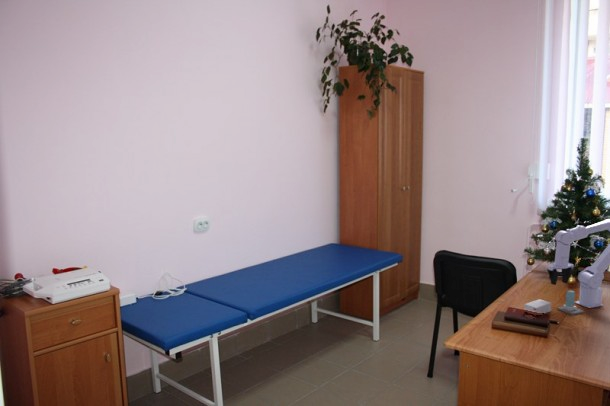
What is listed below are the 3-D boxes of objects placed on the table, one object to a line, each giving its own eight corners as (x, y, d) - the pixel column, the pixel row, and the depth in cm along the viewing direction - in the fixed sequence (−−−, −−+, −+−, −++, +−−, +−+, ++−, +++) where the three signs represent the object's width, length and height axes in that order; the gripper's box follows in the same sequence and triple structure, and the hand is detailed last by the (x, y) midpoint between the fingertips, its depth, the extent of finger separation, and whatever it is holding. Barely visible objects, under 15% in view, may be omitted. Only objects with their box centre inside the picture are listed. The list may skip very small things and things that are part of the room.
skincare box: (539, 307, 220) (523, 313, 214) (539, 298, 219) (523, 303, 213) (551, 311, 215) (535, 317, 209) (552, 302, 214) (536, 307, 208)
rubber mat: (569, 306, 221) (569, 305, 220) (584, 312, 213) (584, 311, 213) (556, 309, 218) (556, 307, 218) (571, 315, 210) (572, 313, 210)
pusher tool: (568, 306, 218) (570, 289, 217) (576, 309, 215) (577, 292, 214) (562, 307, 217) (563, 290, 216) (570, 310, 213) (571, 293, 212)
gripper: (565, 253, 227) (562, 279, 229) (543, 255, 222) (541, 282, 224) (578, 256, 221) (575, 284, 223) (556, 258, 215) (553, 286, 217)
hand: (559, 283), depth 223 cm, fingers open, 7 cm apart
